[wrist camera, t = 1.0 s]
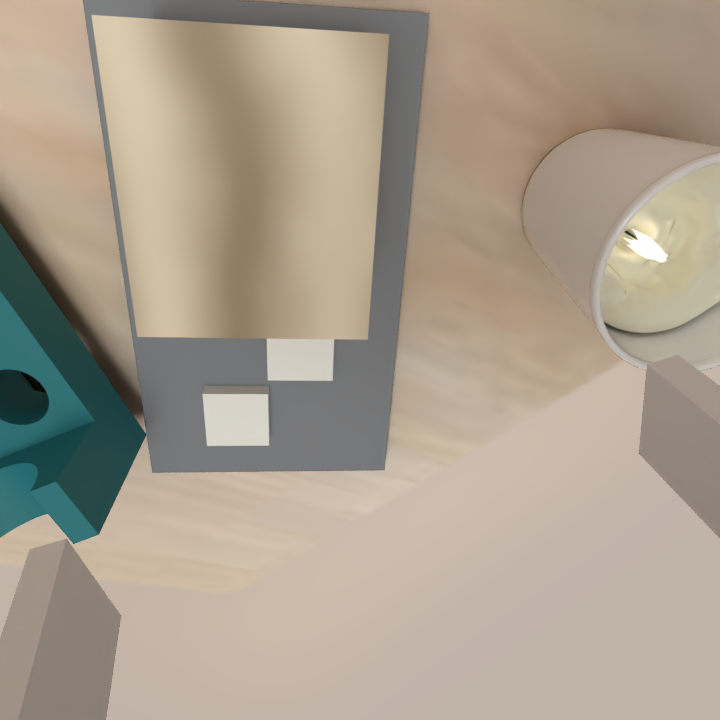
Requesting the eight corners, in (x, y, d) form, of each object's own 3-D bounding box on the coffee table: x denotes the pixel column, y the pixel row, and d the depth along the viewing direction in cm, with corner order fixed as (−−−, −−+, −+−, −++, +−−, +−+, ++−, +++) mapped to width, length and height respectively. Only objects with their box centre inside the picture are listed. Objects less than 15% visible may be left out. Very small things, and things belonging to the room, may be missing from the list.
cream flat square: (334, 315, 36) (334, 322, 35) (331, 372, 37) (332, 380, 37) (267, 314, 35) (266, 321, 34) (268, 372, 37) (267, 380, 36)
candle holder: (474, 223, 35) (546, 305, 25) (592, 74, 32) (735, 95, 21) (586, 306, 38) (691, 409, 28) (704, 179, 35) (875, 243, 24)
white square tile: (268, 385, 38) (267, 394, 37) (269, 436, 39) (269, 445, 39) (204, 385, 37) (202, 394, 36) (209, 436, 39) (206, 445, 38)
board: (423, 13, 29) (429, 13, 28) (382, 456, 43) (384, 470, 42) (91, -9, 28) (81, -11, 27) (157, 458, 41) (152, 472, 40)
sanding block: (365, 33, 28) (389, 33, 21) (353, 269, 34) (367, 339, 26) (152, 19, 27) (91, 14, 20) (176, 264, 33) (137, 337, 25)
